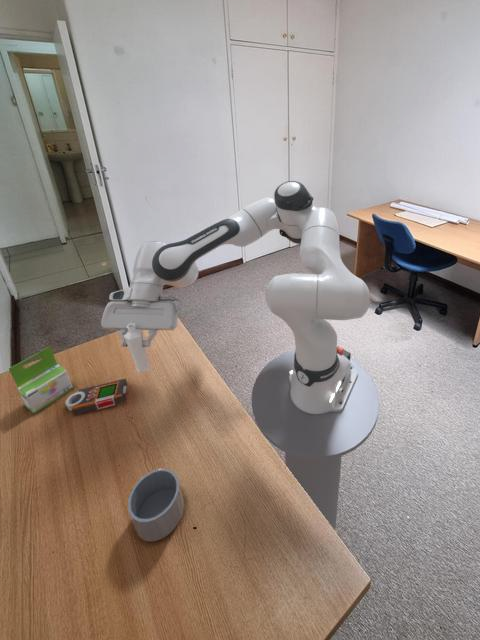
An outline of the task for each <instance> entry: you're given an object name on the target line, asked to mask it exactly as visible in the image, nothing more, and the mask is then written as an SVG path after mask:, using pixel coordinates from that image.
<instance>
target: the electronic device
mask: <svg viewBox="0 0 480 640" xmlns="http://www.w3.org/2000/svg"><path fill="white" fill-rule="evenodd" d="M127 388H128V381H127V378H123V379H118V380H113V381H110V382H105V383H101V384H98V385H92V386H89V387H85V388H80V389H78V391H76V392H74V393H72V394H71V395H69V396H68V397H67V398H66V400H65V402H64V404H65V406H66V408H67V410H68V411H70V412H72V413H73V415H74V416H76V415H79V414H83V413H87V412H91V411H94V410H98V411H99V410H102V409H106V408H110V407H113V406H115V405H119V404H122V403H124V401H125V397H126V394H127V393H126V392H127Z"/></svg>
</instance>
